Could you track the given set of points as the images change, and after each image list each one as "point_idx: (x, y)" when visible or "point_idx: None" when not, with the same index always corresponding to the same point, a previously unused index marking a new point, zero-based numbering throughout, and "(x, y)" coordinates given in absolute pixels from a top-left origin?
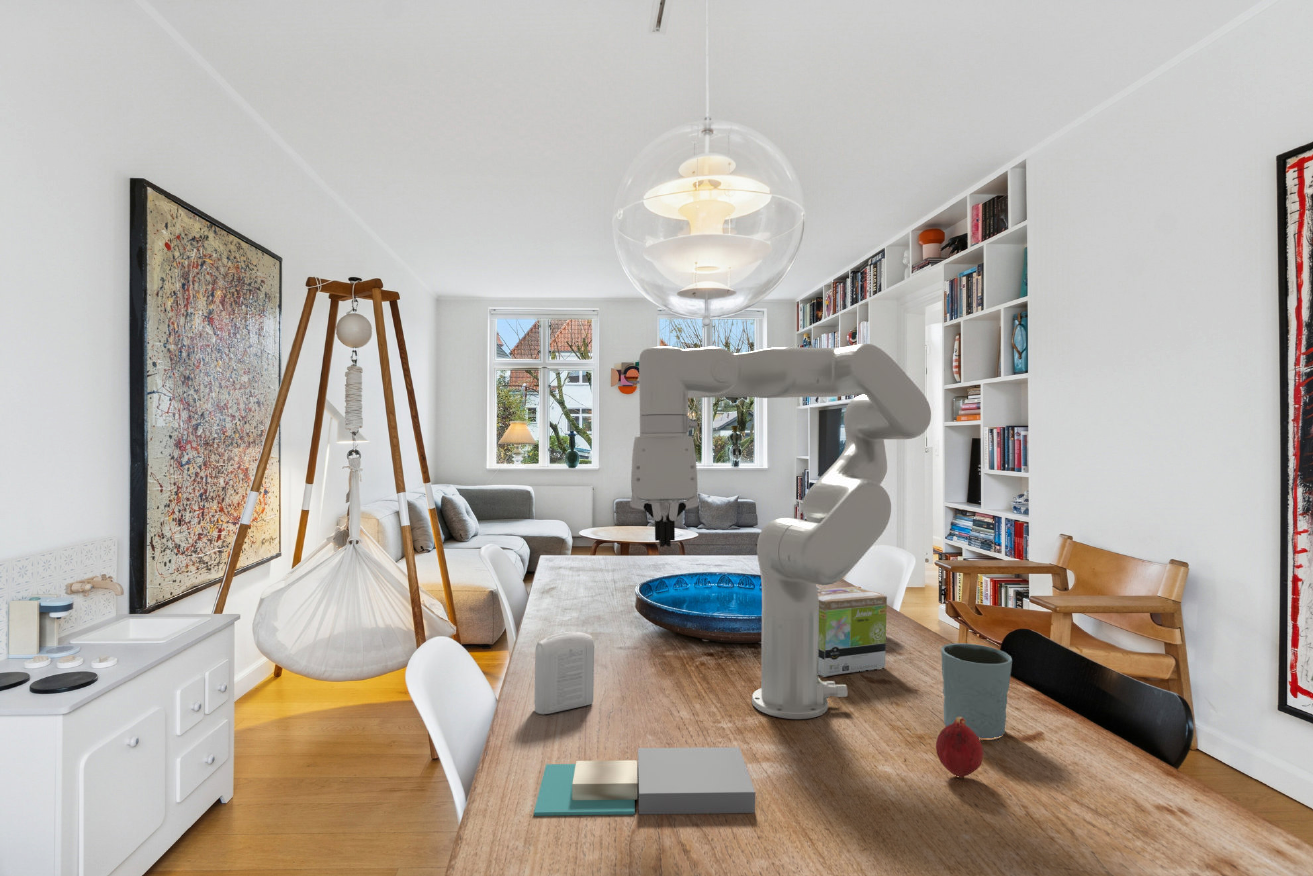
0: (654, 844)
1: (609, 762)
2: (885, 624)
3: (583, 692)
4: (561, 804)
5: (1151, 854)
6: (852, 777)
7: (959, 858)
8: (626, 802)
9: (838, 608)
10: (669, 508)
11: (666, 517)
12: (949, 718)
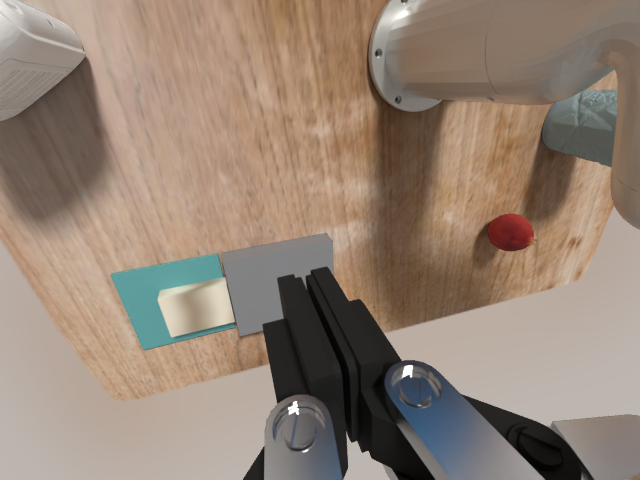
0: (255, 350)
1: (197, 294)
2: None
3: (62, 71)
4: (164, 334)
5: (525, 289)
6: (416, 236)
7: (434, 315)
8: None
9: None
10: (430, 461)
11: (368, 432)
12: (554, 130)
